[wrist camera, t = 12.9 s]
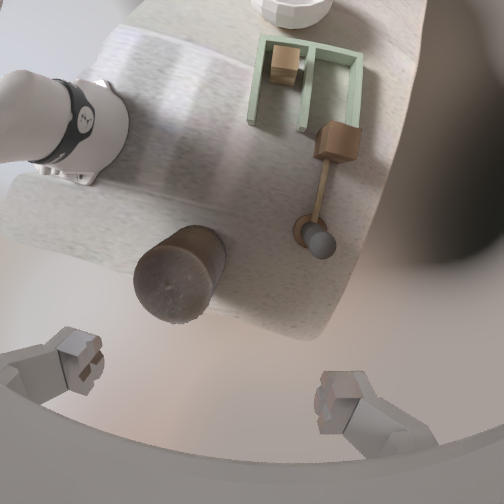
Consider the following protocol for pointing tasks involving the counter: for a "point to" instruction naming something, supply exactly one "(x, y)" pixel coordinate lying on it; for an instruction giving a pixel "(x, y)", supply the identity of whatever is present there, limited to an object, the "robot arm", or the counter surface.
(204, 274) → the pillar candle
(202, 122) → the counter surface
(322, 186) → the tethered walnut block
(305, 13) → the white deep bowl
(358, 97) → the lane rack
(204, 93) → the counter surface
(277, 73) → the oak block
